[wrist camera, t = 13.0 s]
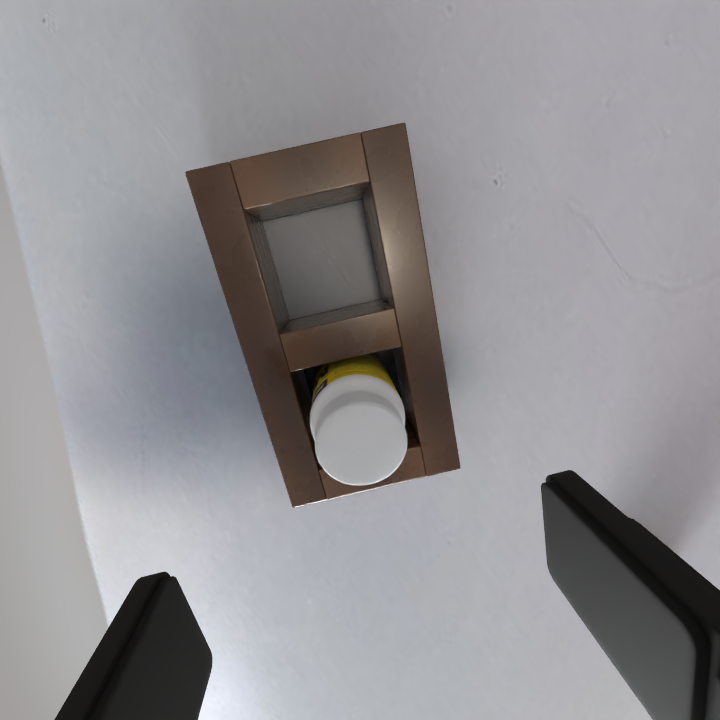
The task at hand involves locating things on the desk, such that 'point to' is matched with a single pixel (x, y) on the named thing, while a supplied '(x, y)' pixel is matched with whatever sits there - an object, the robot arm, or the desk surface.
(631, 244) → the desk surface
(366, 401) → the supplement bottle
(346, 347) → the holder
